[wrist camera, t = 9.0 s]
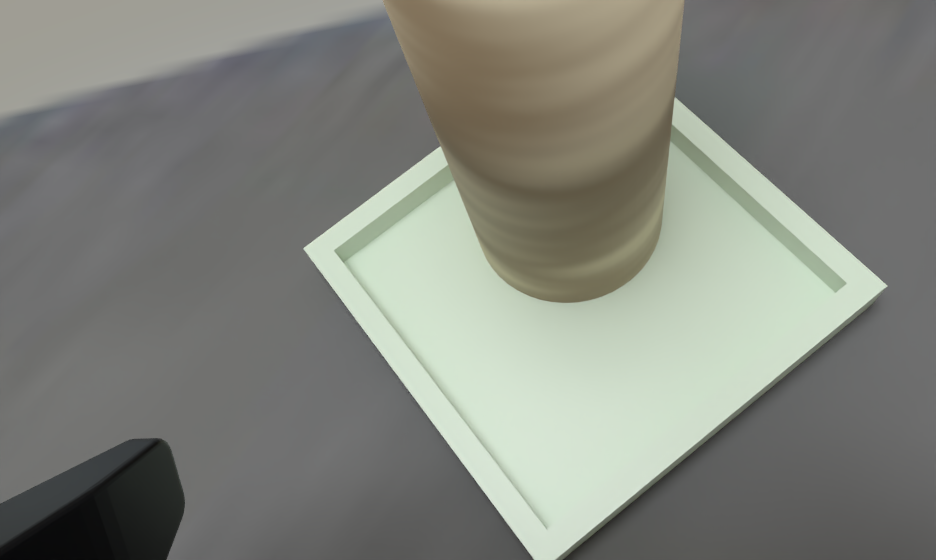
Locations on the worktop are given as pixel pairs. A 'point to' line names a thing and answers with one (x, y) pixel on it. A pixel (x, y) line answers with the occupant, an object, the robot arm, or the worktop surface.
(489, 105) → the pepper mill
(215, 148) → the worktop surface
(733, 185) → the tray
